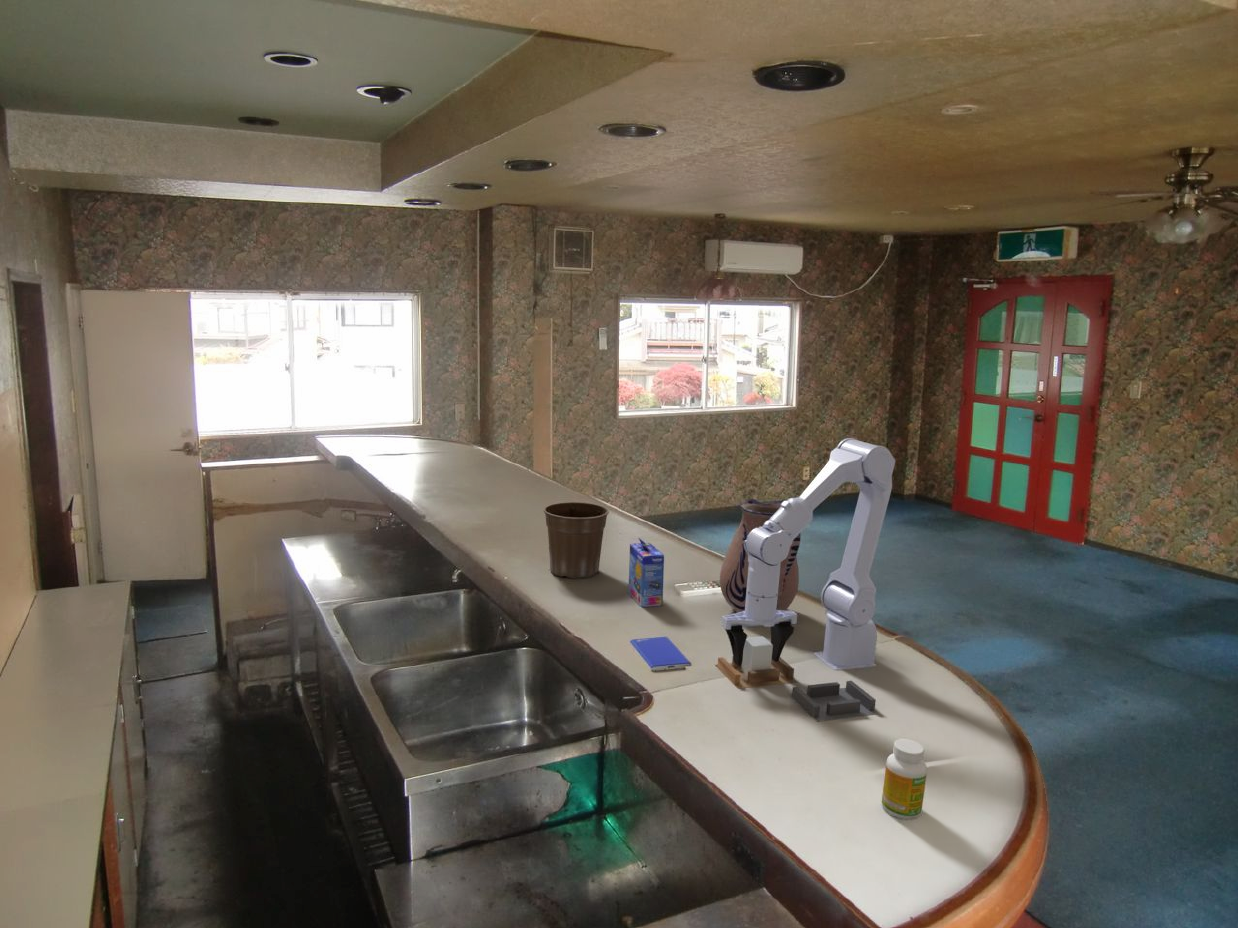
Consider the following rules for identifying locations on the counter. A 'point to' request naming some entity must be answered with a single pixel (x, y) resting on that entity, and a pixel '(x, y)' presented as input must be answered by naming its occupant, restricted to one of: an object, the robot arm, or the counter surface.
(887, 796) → the supplement bottle
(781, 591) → the ceramic pitcher
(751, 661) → the plug block
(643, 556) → the ink cartridge box
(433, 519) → the counter surface
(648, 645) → the hard drive
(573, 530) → the plant pot
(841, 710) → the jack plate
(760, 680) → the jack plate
